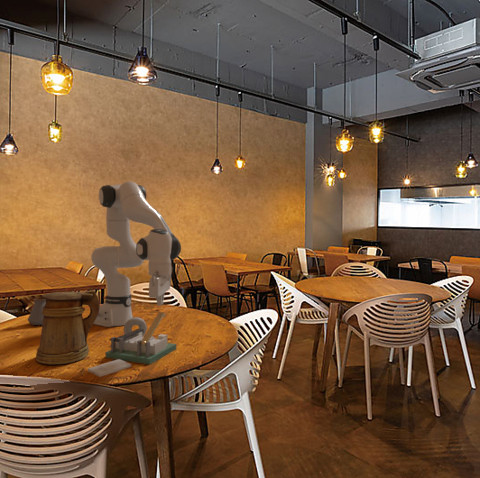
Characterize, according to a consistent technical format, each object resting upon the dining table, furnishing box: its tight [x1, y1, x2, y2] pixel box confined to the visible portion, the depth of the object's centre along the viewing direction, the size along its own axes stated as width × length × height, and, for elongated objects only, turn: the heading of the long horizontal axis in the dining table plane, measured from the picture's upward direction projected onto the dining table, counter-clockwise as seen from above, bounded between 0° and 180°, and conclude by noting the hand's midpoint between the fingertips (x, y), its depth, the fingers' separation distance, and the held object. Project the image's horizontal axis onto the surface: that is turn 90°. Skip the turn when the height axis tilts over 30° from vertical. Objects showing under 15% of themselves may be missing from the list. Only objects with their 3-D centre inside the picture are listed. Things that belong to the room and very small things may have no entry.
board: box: [105, 332, 177, 365], centre depth 162 cm, size 20×19×8 cm
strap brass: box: [140, 311, 166, 346], centre depth 158 cm, size 2×16×2 cm
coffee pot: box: [27, 291, 73, 326], centre depth 208 cm, size 21×12×15 cm, turn 126°
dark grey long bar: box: [114, 328, 144, 342], centre depth 164 cm, size 2×16×2 cm, turn 158°
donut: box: [123, 316, 148, 337], centre depth 179 cm, size 10×3×10 cm, turn 115°
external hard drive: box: [87, 359, 132, 378], centre depth 146 cm, size 2×8×12 cm
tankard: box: [35, 289, 101, 365], centre depth 158 cm, size 18×24×25 cm
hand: (160, 304), depth 163 cm, fingers closed
